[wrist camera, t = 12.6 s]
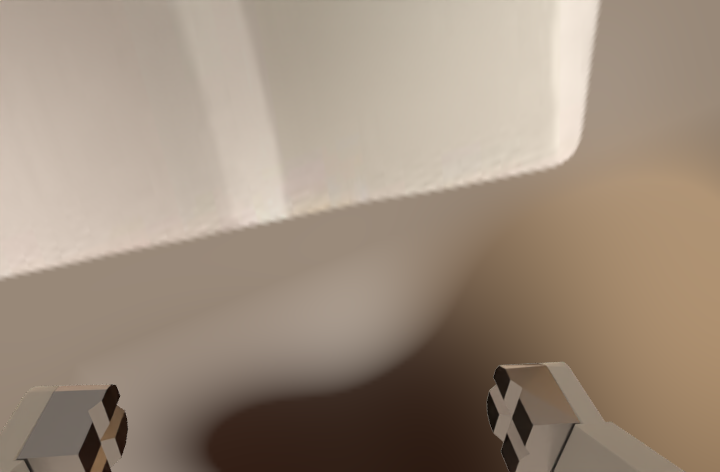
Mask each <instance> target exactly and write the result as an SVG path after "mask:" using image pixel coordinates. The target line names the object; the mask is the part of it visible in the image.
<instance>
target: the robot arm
mask: <svg viewBox="0 0 720 472" xmlns="http://www.w3.org/2000/svg"><path fill="white" fill-rule="evenodd" d="M493 378H494V380H495V382H496V384H497V385H495V386H494V387H493V388H492V389H491V390H490V391H489V394H488V398H487V414H488V419H489V423H490V425H491V428H492V431H493V433H494V434H495V435H496V436H497V437H499V438H500V439H501V440H502V441H503V442H504V443H503V446H502V449H501V453H502V456H503V458H504V460H505V463H506V465H507V468H508V470H509V472H685V471H683V470H682V469H680V468H679V467H677V466H676V465H674V464H673V463H671V462H670V461H669V460H667V459H665V458H664V457H663V456H661V455H660V454H658V453H657V452H655V451H654V450H652V449H651V448H649V447H648V446H646V445H645V444H643V443H642V442H640V441H639V440H638V439H636V438H635V437H633V436H632V435H630V434H629V433H627V432H626V431H624V430H623V429H621V428H620V427H618V426H617V425H615V424H614V423H613V422H605V421H604V420H603V418H602V416H601V415H600V413H599V412H598V410H597V409H596V407H595V406H594V404H593V403H592V401H591V400H590V398H589V396H588V395H587V393H586V392H585V390H584V389H583V387H582V386H581V384H580V383H579V381H578V380H577V378H576V377H575V375H574V374H573V372H572V370H571V369H570V367H569V366H568V365H567V364H565V363H564V362H553V363H529V364H512V365H499V366H498V367H497V368H496V370H495V373H494V376H493ZM119 398H120V394H119V391H118V388H117V386H116V385H112V384H109V385H107V384H106V385H62V386H37V387H33V388H31V389H30V390H29V391H28V392H26V394H25V395H24V396H23V398H22V400H21V401H20V403H19V404H18V406H17V408H16V409H15V411H14V412H13V414H12V416H11V417H10V419H9V421H8V422H7V424H6V426H5V427H4V429H3V430H2V432H1V434H0V472H111V469H110V468H111V467H112V466H113V465H114V464H115V463H116V462H117V461H118V460H119V459H121V458H122V454H123V451H124V448H125V445H126V440H127V433H128V424H127V423H128V422H127V416H126V413H125V410H123V409H122V408H120V407H119V406H118V405H117V403H118V401H119Z"/></svg>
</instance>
